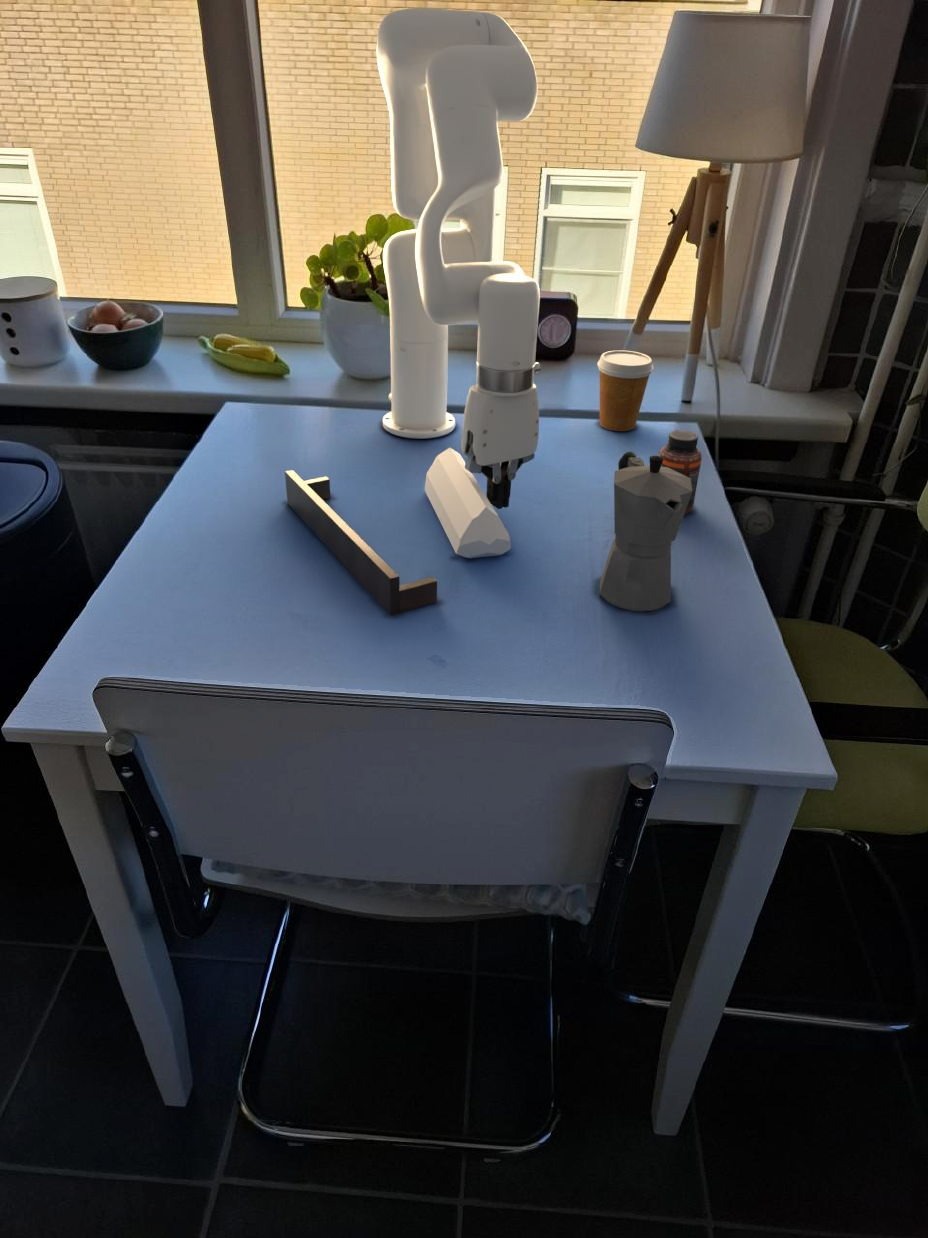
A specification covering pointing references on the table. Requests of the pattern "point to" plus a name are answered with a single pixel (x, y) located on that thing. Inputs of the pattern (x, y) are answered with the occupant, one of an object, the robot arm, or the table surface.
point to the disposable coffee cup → (622, 388)
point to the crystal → (464, 509)
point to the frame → (355, 548)
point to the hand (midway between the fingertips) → (497, 504)
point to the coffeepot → (643, 533)
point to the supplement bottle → (683, 458)
